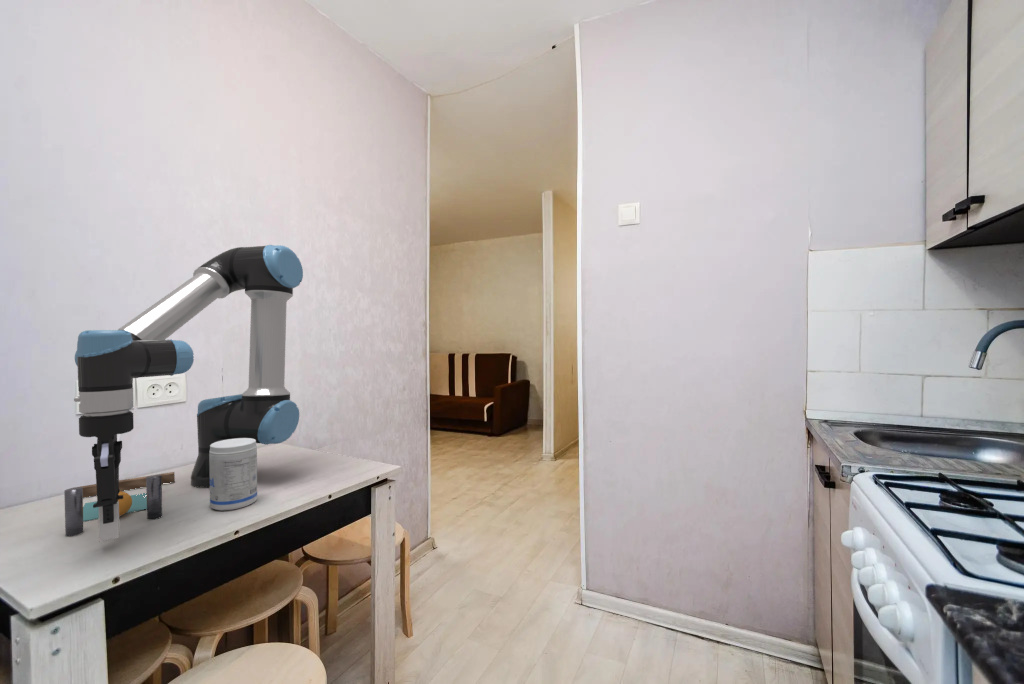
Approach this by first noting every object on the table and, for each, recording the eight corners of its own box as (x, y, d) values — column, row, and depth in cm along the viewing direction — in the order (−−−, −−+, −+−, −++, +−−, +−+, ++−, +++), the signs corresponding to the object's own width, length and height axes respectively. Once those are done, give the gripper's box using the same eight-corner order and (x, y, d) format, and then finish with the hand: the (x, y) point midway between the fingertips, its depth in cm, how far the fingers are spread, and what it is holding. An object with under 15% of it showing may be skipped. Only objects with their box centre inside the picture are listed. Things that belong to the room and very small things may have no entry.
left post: (84, 529, 91) (83, 486, 91) (82, 534, 89) (81, 489, 89) (66, 533, 89) (65, 488, 89) (64, 537, 87) (63, 492, 87)
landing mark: (160, 491, 114) (160, 490, 114) (159, 507, 103) (159, 506, 103) (85, 504, 105) (85, 503, 105) (75, 523, 94) (75, 522, 94)
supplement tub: (206, 503, 105) (205, 442, 105) (251, 493, 111) (250, 435, 111) (214, 515, 98) (213, 449, 97) (262, 504, 104) (261, 441, 104)
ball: (132, 518, 98) (133, 503, 102) (130, 498, 96) (131, 483, 100) (99, 526, 95) (101, 510, 99) (96, 505, 93) (98, 489, 97)
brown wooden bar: (174, 480, 122) (174, 471, 122) (174, 482, 121) (174, 473, 121) (73, 497, 110) (73, 487, 110) (72, 499, 108) (71, 489, 108)
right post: (162, 514, 99) (161, 474, 99) (162, 517, 97) (161, 476, 97) (147, 517, 97) (146, 476, 97) (146, 520, 95) (145, 479, 95)
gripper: (84, 410, 85) (87, 531, 86) (72, 419, 75) (75, 557, 75) (135, 406, 90) (137, 521, 90) (130, 414, 80) (133, 544, 80)
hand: (109, 537), depth 83 cm, fingers closed
